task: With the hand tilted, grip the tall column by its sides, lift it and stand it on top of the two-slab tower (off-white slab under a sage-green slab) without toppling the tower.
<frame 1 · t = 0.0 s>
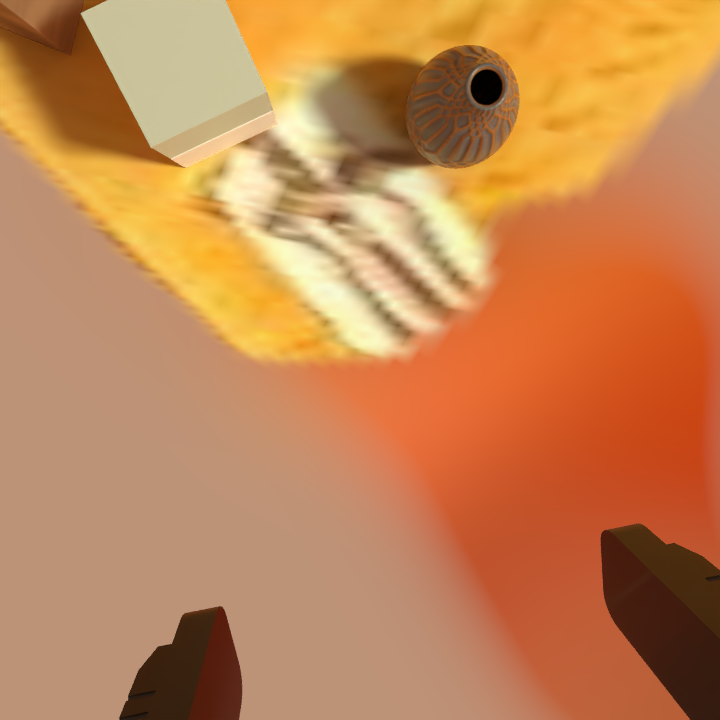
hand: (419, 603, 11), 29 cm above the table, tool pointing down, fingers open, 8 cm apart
tower base: (207, 96, 35), on the table, touching tower mid
tower mid: (193, 77, 31), point 4 cm above the table, touching tower base
vase: (445, 123, 36), on the table
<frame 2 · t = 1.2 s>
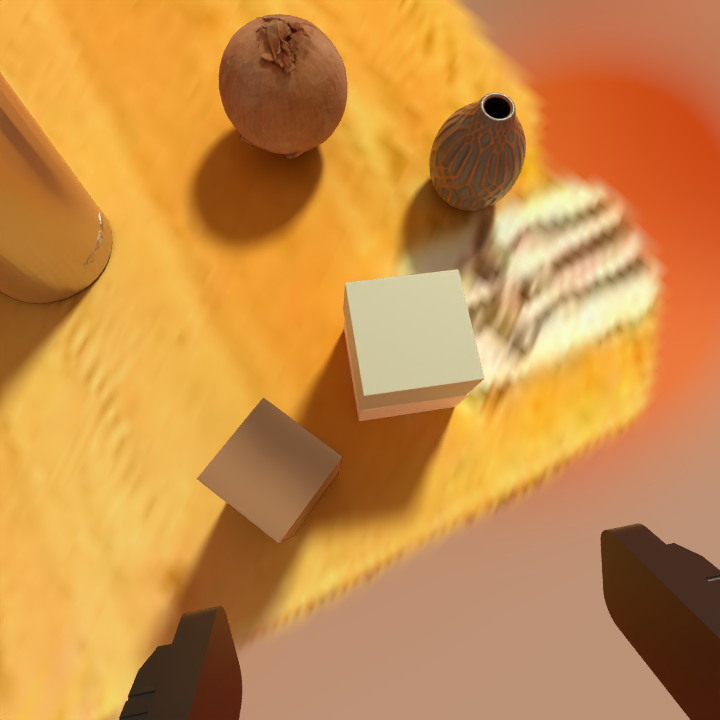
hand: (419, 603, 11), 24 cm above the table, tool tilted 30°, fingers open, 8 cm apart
tower base: (398, 368, 38), on the table, touching tower mid
onion: (288, 135, 43), on the table
column: (286, 481, 35), on the table
tower mid: (403, 351, 34), point 4 cm above the table, touching tower base
vase: (463, 189, 43), on the table
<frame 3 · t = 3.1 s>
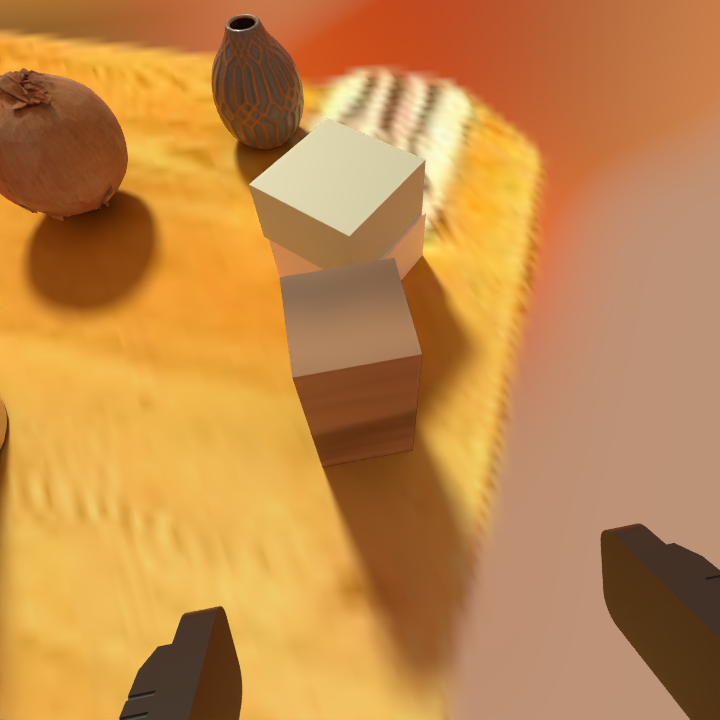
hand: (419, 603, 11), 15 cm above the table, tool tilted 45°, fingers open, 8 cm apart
tower base: (351, 268, 35), on the table, touching tower mid
onion: (89, 204, 40), on the table
column: (359, 417, 29), on the table
tower mid: (343, 225, 32), point 4 cm above the table, touching tower base
vase: (268, 136, 43), on the table
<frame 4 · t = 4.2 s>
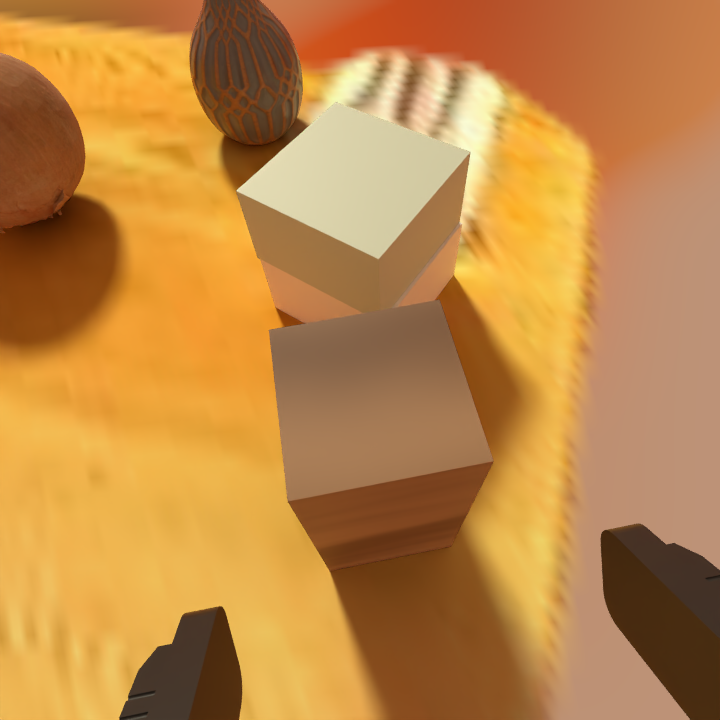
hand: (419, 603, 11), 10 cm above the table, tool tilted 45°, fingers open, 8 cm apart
tower base: (365, 293, 28), on the table, touching tower mid
onion: (41, 211, 33), on the table
column: (378, 498, 22), on the table
tower mid: (359, 240, 25), point 4 cm above the table, touching tower base
vase: (260, 130, 36), on the table
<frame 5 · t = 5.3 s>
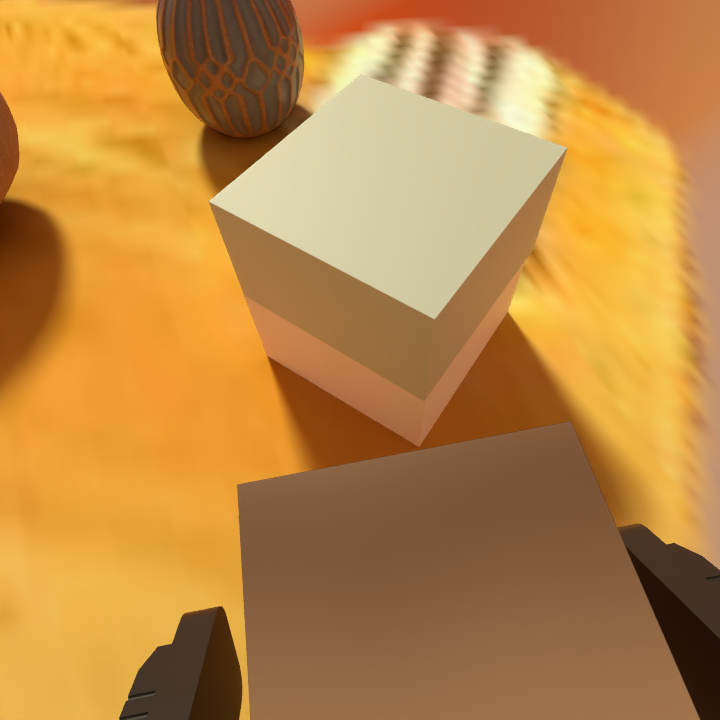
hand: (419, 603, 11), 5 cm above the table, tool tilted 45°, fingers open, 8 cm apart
tower base: (389, 336, 21), on the table, touching tower mid
column: (415, 658, 15), on the table
tower mid: (390, 272, 17), point 4 cm above the table, touching tower base
vase: (251, 119, 29), on the table
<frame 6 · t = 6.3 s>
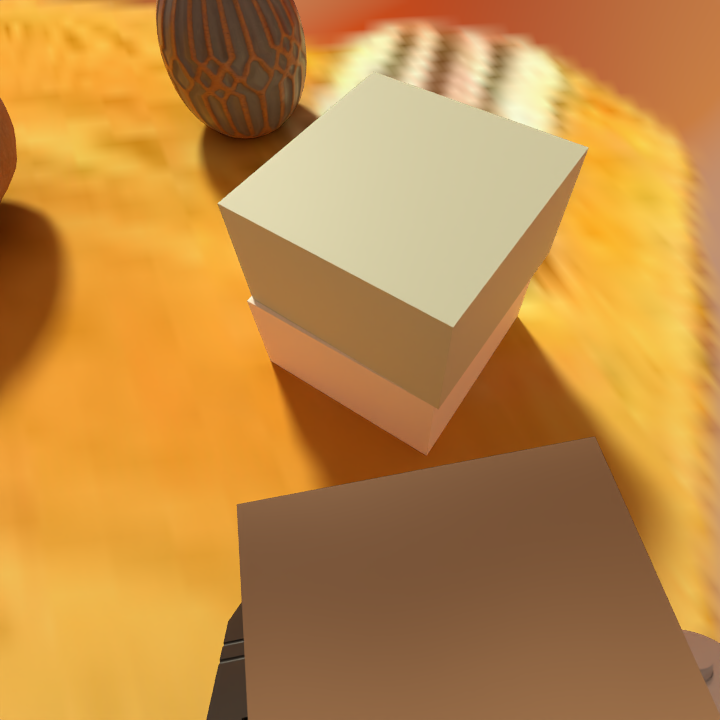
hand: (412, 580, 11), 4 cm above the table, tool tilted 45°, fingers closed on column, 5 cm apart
tower base: (395, 341, 20), on the table, touching tower mid
column: (423, 674, 14), on the table, touching gripper
tower mid: (402, 275, 17), point 4 cm above the table, touching tower base
vase: (252, 119, 28), on the table
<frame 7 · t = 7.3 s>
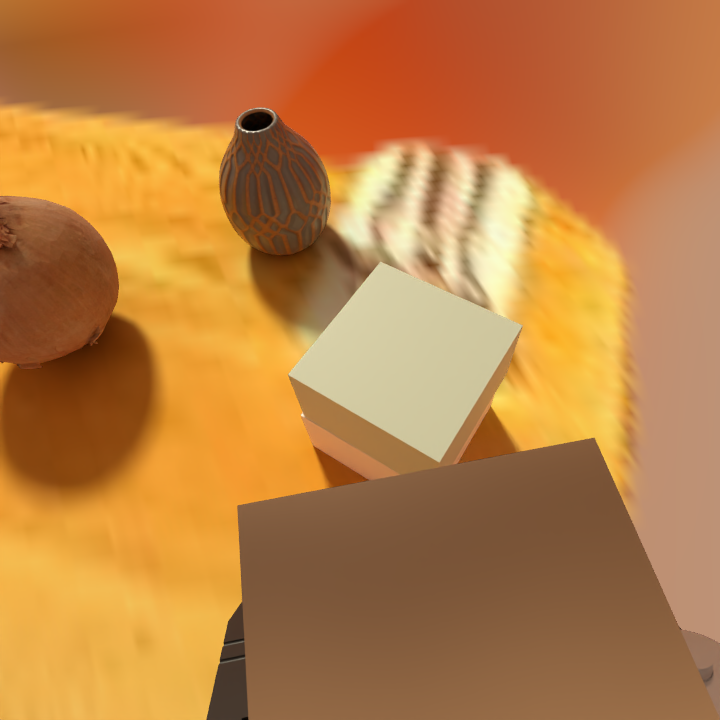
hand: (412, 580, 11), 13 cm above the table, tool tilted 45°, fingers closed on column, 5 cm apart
tower base: (402, 427, 28), on the table, touching tower mid
onion: (75, 332, 33), on the table
column: (423, 674, 14), point 9 cm above the table, touching gripper
tower mid: (406, 394, 24), point 4 cm above the table, touching tower base
vase: (287, 236, 36), on the table
when the fingers open (14 cm above the table, at t = 9.9 s): column drops 2 cm, resting on tower mid.
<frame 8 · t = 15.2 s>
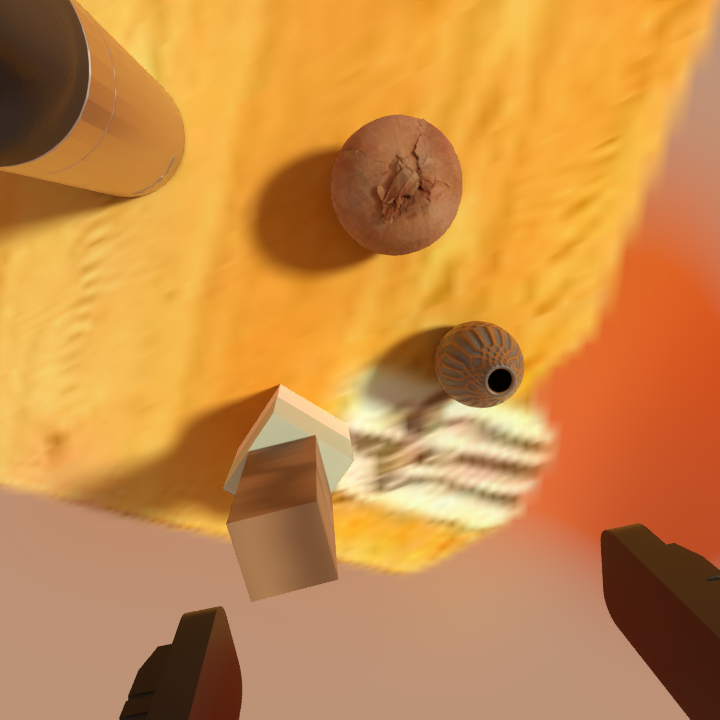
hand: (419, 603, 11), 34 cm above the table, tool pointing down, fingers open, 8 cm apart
tower base: (293, 435, 46), on the table, touching tower mid
onion: (386, 193, 42), on the table
column: (290, 473, 38), point 8 cm above the table, touching tower mid
tower mid: (291, 453, 42), point 4 cm above the table, touching column, tower base
vase: (464, 354, 46), on the table
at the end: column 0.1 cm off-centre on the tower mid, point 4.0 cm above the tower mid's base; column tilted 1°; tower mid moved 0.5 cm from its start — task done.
